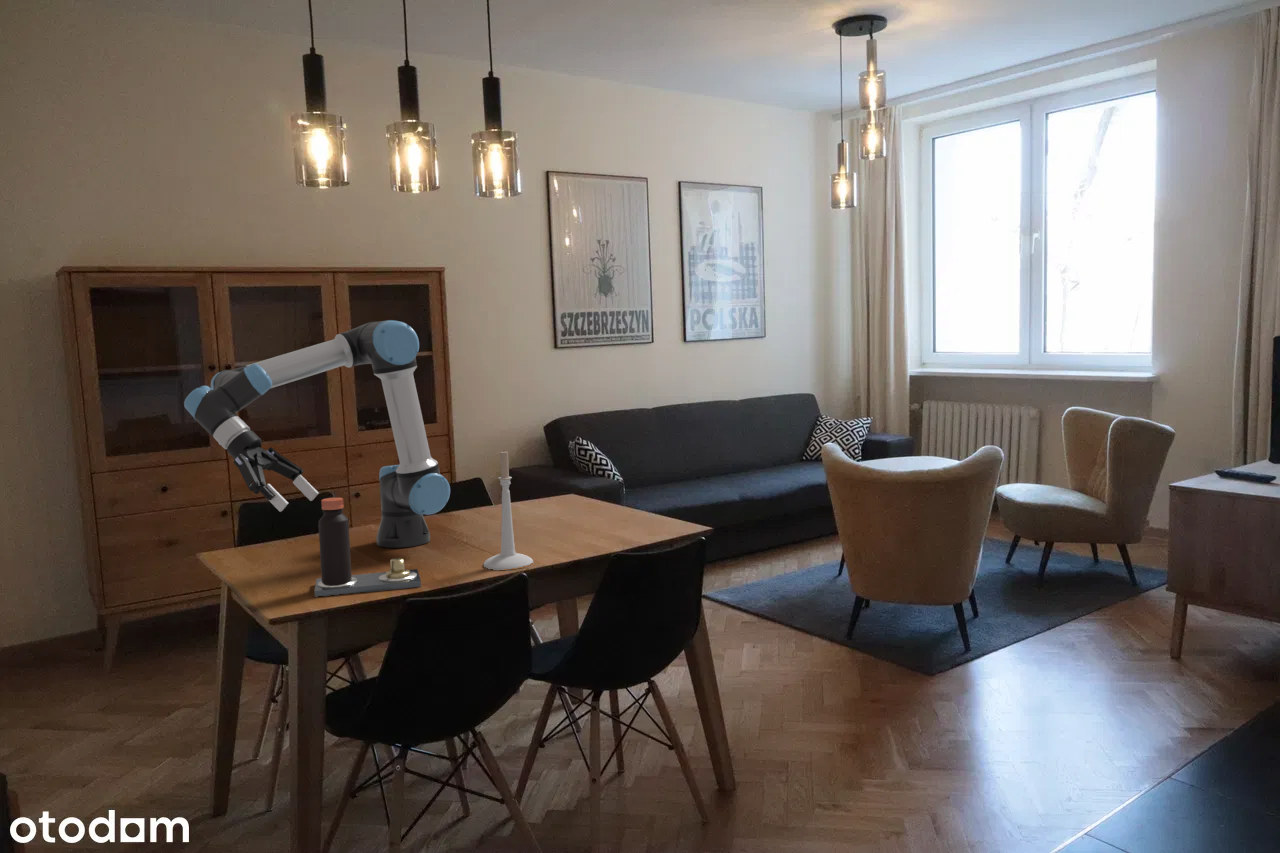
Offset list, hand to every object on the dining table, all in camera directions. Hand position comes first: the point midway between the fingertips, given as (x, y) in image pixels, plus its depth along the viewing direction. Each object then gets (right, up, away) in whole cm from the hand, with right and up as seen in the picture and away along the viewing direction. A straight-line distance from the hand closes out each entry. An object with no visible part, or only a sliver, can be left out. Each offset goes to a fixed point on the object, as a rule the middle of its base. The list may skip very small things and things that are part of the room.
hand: (300, 502), depth 221 cm
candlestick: (+47, -18, +21) cm, 54 cm away
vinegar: (+9, -19, 0) cm, 21 cm away
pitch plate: (+15, -20, +3) cm, 26 cm away
